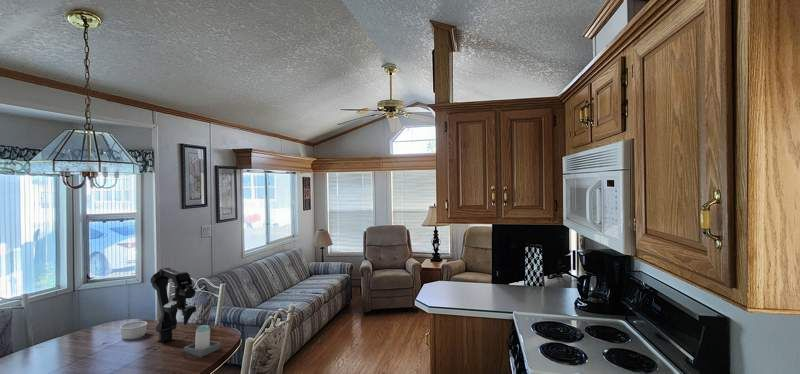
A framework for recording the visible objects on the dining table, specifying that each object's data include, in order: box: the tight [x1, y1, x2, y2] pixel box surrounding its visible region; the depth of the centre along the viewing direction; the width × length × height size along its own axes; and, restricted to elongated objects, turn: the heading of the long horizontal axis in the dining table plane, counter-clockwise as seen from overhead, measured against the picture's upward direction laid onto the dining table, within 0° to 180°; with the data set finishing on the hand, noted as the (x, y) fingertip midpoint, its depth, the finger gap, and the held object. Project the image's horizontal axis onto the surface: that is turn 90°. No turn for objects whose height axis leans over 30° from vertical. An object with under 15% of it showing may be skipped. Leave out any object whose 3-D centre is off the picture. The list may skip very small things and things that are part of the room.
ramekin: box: [119, 320, 148, 340], centre depth 220 cm, size 13×13×7 cm
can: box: [194, 324, 211, 351], centre depth 203 cm, size 7×7×12 cm
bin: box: [183, 340, 222, 358], centre depth 203 cm, size 13×13×3 cm
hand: (179, 323), depth 207 cm, fingers open, 9 cm apart
